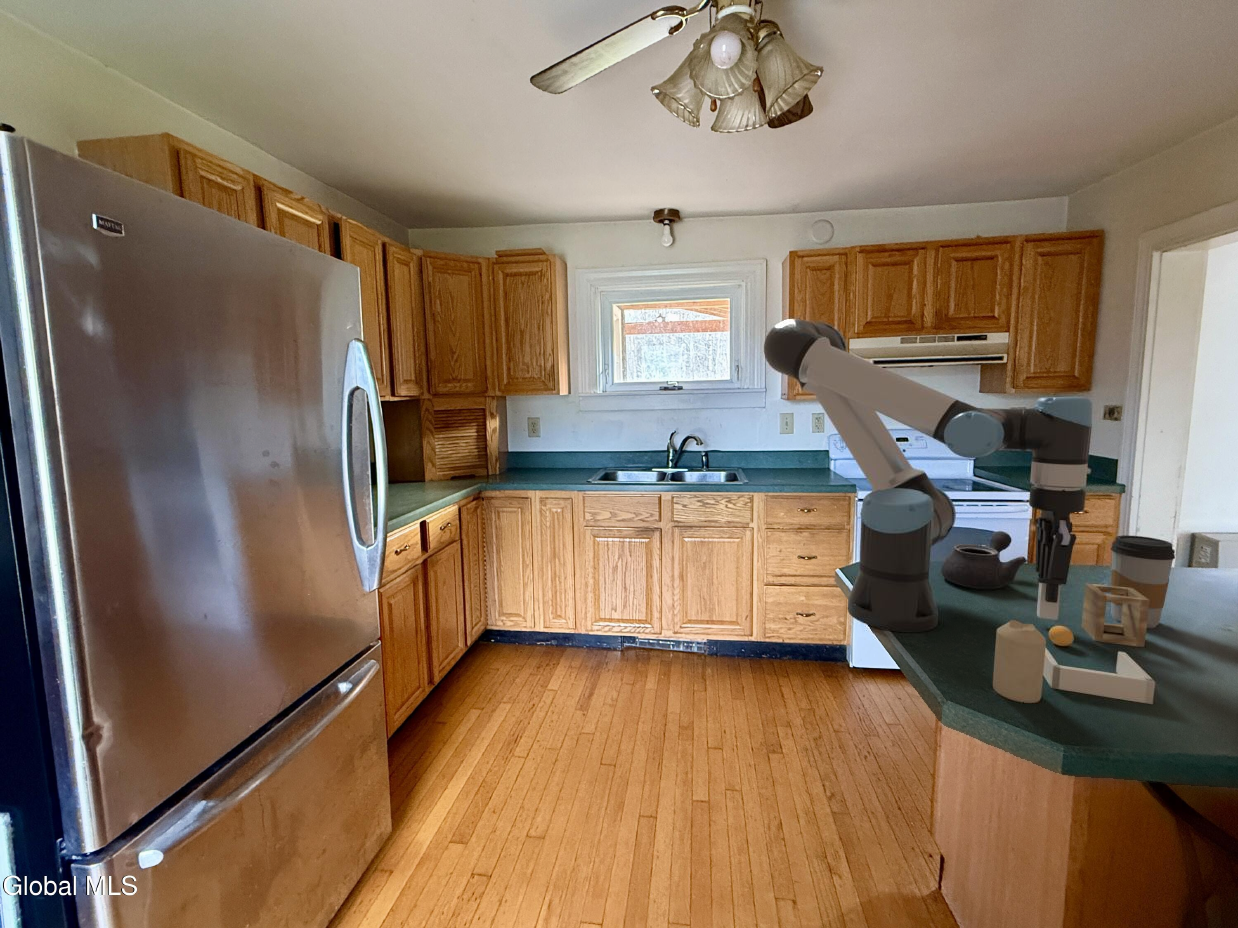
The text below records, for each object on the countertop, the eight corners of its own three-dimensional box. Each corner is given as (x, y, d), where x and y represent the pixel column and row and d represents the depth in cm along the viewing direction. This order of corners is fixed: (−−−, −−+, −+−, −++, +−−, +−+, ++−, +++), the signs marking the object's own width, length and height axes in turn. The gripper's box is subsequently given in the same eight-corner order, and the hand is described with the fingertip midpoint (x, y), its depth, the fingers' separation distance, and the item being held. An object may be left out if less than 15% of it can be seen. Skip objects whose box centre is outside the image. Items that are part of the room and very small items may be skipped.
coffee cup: (1179, 632, 94) (1190, 548, 92) (1123, 629, 96) (1132, 546, 94) (1144, 613, 102) (1153, 535, 100) (1093, 610, 104) (1100, 533, 102)
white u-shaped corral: (1051, 687, 78) (1053, 666, 77) (1033, 659, 86) (1034, 639, 85) (1152, 704, 73) (1155, 681, 73) (1122, 672, 81) (1125, 652, 81)
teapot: (1016, 601, 109) (1020, 553, 108) (932, 582, 120) (934, 538, 119) (1038, 579, 121) (1042, 535, 120) (960, 563, 133) (963, 523, 132)
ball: (1051, 647, 90) (1053, 628, 89) (1045, 639, 92) (1046, 621, 92) (1075, 650, 88) (1077, 631, 88) (1068, 642, 91) (1070, 624, 91)
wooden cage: (1094, 640, 92) (1099, 595, 91) (1081, 626, 97) (1085, 583, 96) (1144, 647, 89) (1149, 600, 88) (1127, 632, 95) (1132, 587, 94)
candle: (983, 683, 79) (987, 617, 78) (1018, 681, 79) (1024, 615, 78) (1013, 704, 74) (1019, 634, 72) (1051, 702, 74) (1057, 632, 73)
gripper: (1100, 494, 87) (1087, 635, 90) (1071, 481, 99) (1060, 606, 102) (1042, 491, 90) (1032, 628, 93) (1021, 480, 102) (1012, 601, 105)
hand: (1047, 616), depth 97 cm, fingers closed
